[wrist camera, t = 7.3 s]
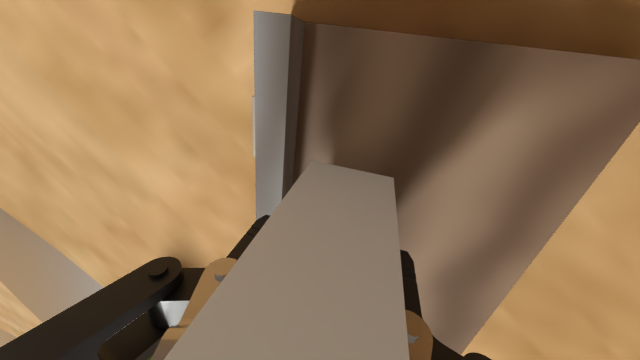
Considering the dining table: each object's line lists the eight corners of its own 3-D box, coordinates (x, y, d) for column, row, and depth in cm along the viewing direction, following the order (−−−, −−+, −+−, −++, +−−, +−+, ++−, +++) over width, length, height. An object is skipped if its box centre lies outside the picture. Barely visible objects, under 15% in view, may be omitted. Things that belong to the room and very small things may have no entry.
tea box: (366, 267, 14) (342, 536, 6) (297, 248, 14) (193, 467, 7) (393, 177, 11) (418, 466, 3) (305, 159, 12) (144, 358, 4)
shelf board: (632, 64, 10) (751, 64, 7) (454, 328, 20) (468, 382, 16) (282, 23, 13) (247, 9, 9) (273, 274, 22) (253, 310, 19)
